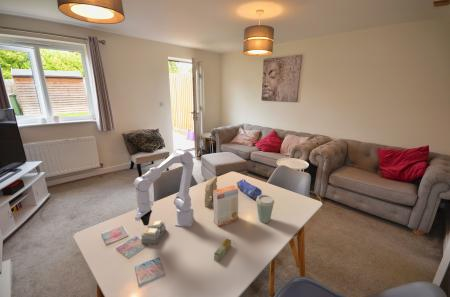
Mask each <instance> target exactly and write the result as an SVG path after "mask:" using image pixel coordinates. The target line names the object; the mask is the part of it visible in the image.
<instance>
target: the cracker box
mask: <svg viewBox="0 0 450 297" xmlns="http://www.w3.org/2000/svg"><path fill="white" fill-rule="evenodd" d="M212 200H213V202H212V203H213V222H214V223H215V225H216V226H217V227H222V226H223V225H226V224H230V223H233V222H235V221H238V220H239V188H238V187H236V186H235V185H229V186H225V187H222V188H217V190H213V198H212Z"/></svg>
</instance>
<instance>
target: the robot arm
mask: <svg viewBox="0 0 450 297" xmlns="http://www.w3.org/2000/svg"><path fill="white" fill-rule="evenodd" d="M193 158H194V156H193V154H192V153H191V152H190V151H186V150H183V149H181V148H176V149H175V150H174V151H172V152H171V154H170V155H169V156H168V157H167V158H166V159H164V161H162V162H161V163H160V164H159V165H158V166H153V167H150V168H149V169H148V171H147V172H146V173H144V174H142V175H141V176H138V177H136V178H135V179H134V181H133V183H132V186H133V187H134V188H135V191H136V201H137V208H136V211H137V212H136V214H135V217H134V218H135V219H134V220H135V222H136V221H138V222H139V221H141V222H142V224H143V226H144V227H145V226H148V225H149V224H150V219H151V214H152V212H153V209H152V207H153V205H154V201H153V200H152V201H151V199H150V190H149V189H150V187H151V185H152V184H153V183H154V182H155V181H157V180H158V179H159V178H160V177H162V173H163V172H164V171H166V170H167V169H168V168H170V167H171V166H173V165H174V164H180V165H182V174H181V180H180V184H179V191H178V192H177V193H176V195H175V197H174V200H173V204H174V206H175V208H176V209H175V211H176V222H175V223H174V226H175V227H187V228H188V227H189V228H191V227H192V224H193V222H194V220H195V216H194V209H193V208H191V207H192V202H191V201H192V198H191V196H190V188H191V183H192V182H191V181H192V176H193V172H194V171H193V170H194V165H195V164H194V160H193Z"/></svg>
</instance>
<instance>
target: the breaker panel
mask: <svg viewBox="0 0 450 297" xmlns="http://www.w3.org/2000/svg"><path fill="white" fill-rule="evenodd" d="M151 222H152V221H151ZM151 222H150V221H149V224H148V226H147V227H146V228H158V232H157V234H156V235H144V233H143V232H144V231H145V230H146V228H145V229H144V230H143V232H142V233H141V239H140V240H141V244H143V245H144V244H146V245H158V243H159V242H160V240H161V238H162V236H163V234H164V233H165V232H166V225H165V222H163V221H162V222H163V224H162V225H161V227H149V225H150V224H151Z"/></svg>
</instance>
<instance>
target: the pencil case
mask: <svg viewBox="0 0 450 297" xmlns="http://www.w3.org/2000/svg"><path fill="white" fill-rule="evenodd" d="M236 186H237V188H238V190H240V191H241V192H242V193H244V194H245V195H246V196H248V197H249V198H251V199H253V200H254V201H256V199H257V197H258V196H259V195H261V194H262V193H263V192H262V190H261V188H259V187H257V186H255V185H253V184H252V183H249V182H248V181H246V180H245V179H241V180H239V181H237V182H236Z"/></svg>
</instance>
